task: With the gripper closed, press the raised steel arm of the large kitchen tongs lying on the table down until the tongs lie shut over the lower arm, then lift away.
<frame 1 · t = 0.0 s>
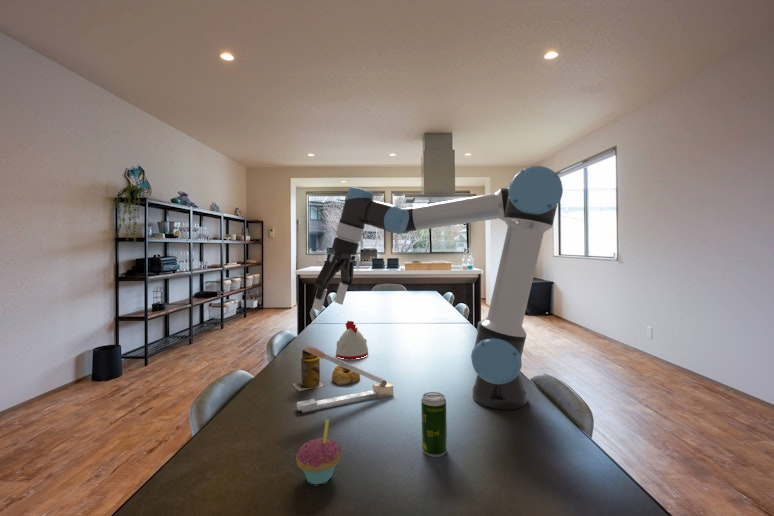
hand: (328, 306, 107), 28 cm above the table, tool tilted 20°, fingers open, 13 cm apart
cupcake: (319, 479, 68), on the table
kitchen timer: (352, 356, 153), on the table
bagel: (346, 381, 123), on the table
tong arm: (347, 366, 104), point 10 cm above the table, hinge at 30.0°
beer can: (434, 452, 77), on the table
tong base: (345, 401, 104), on the table
condiment: (308, 386, 118), on the table
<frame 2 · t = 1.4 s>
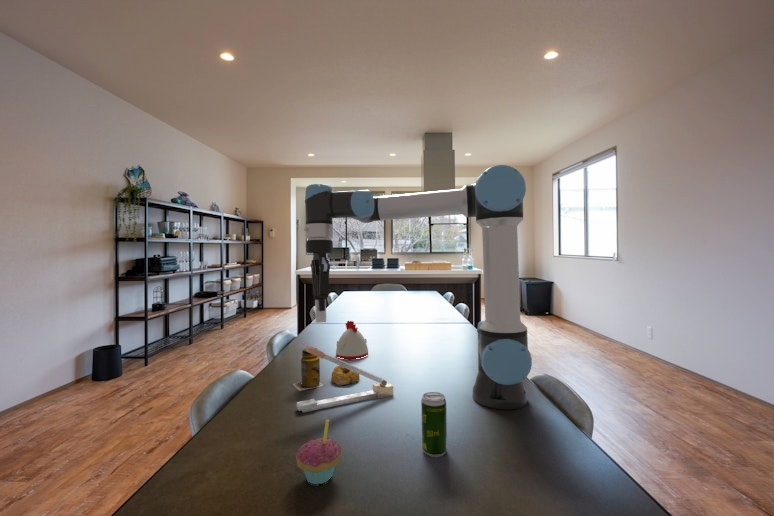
hand: (320, 321, 101), 24 cm above the table, tool pointing down, fingers closed
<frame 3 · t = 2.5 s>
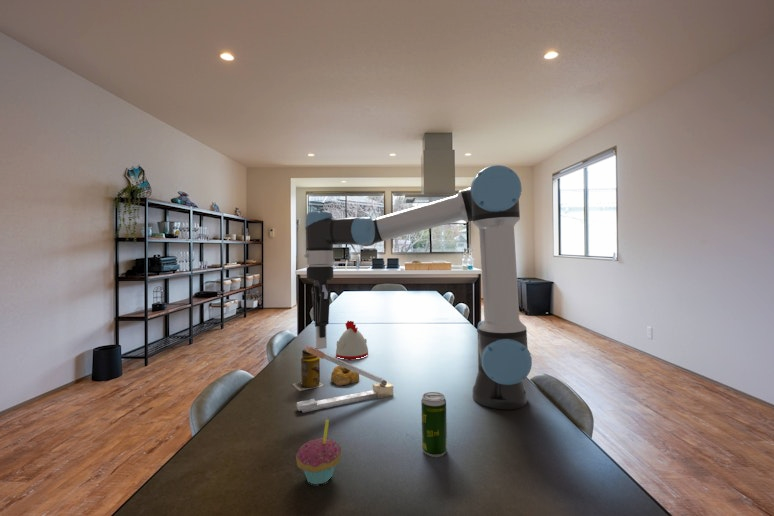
hand: (321, 348, 101), 17 cm above the table, tool pointing down, fingers closed
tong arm: (347, 366, 104), point 10 cm above the table, hinge at 29.9°, touching gripper
everything else where it was.
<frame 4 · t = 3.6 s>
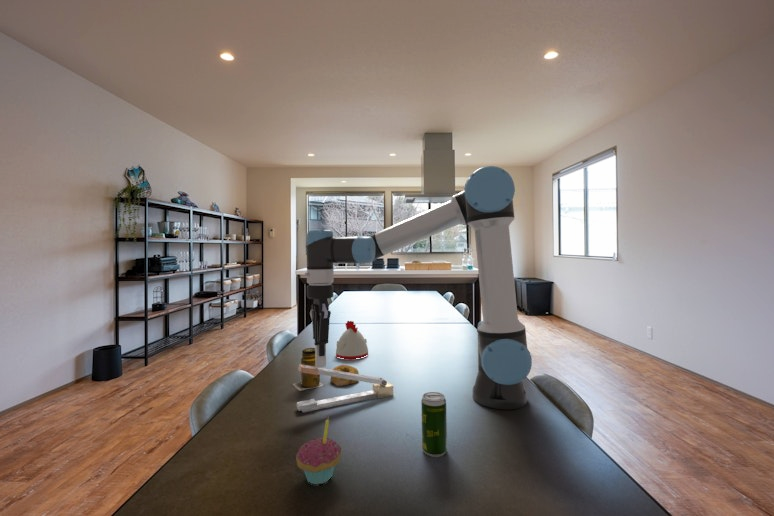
hand: (320, 366, 101), 12 cm above the table, tool pointing down, fingers closed
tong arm: (344, 375, 104), point 8 cm above the table, hinge at 17.7°, touching gripper
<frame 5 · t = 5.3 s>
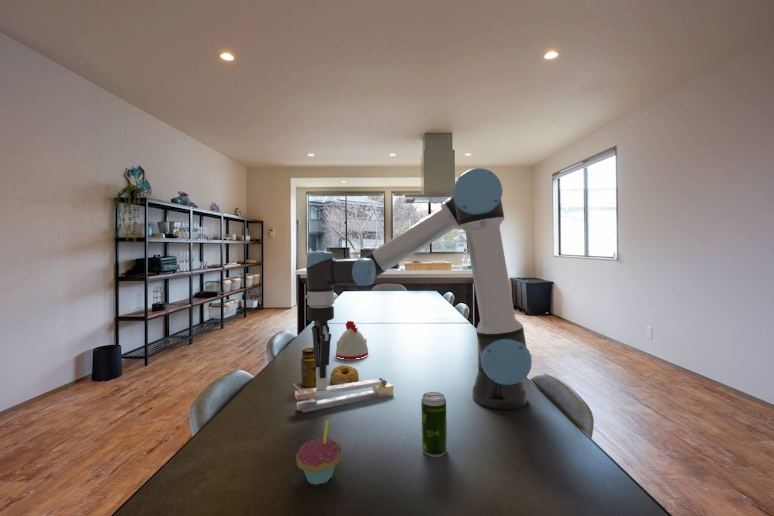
hand: (321, 387, 101), 5 cm above the table, tool pointing down, fingers closed
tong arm: (342, 388, 104), point 4 cm above the table, hinge at 1.4°, touching gripper
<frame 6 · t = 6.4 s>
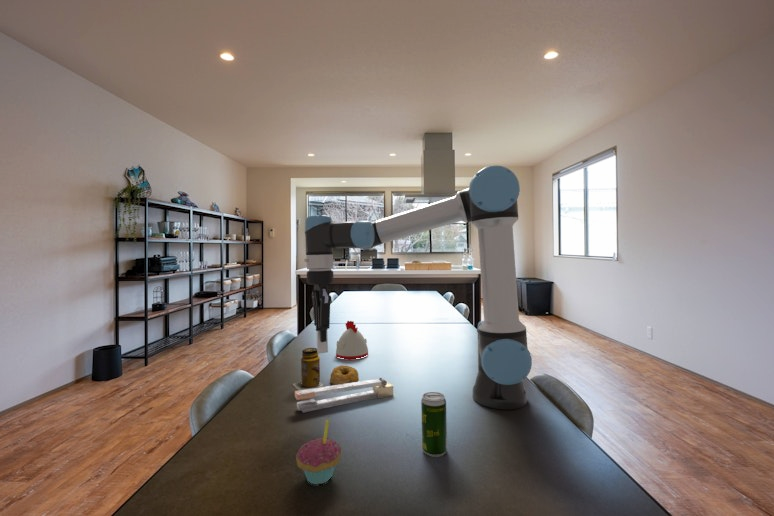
hand: (322, 352, 101), 16 cm above the table, tool pointing down, fingers closed
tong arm: (342, 388, 104), point 4 cm above the table, hinge at 1.4°
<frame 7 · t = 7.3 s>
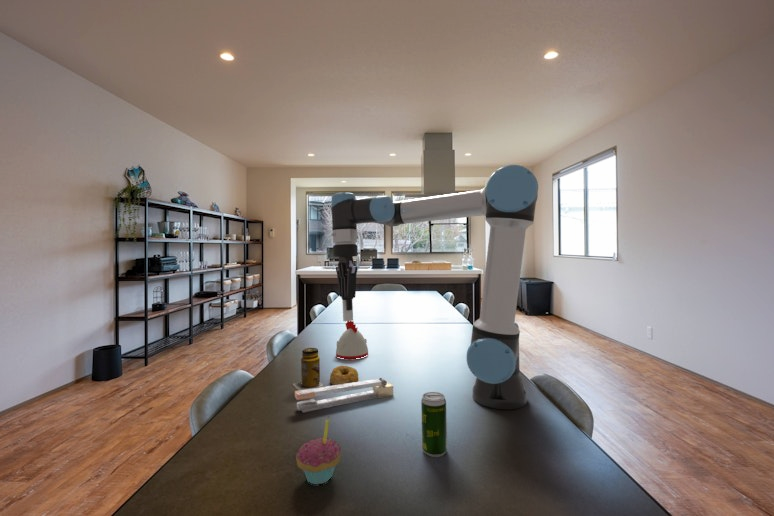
hand: (348, 320, 109), 23 cm above the table, tool pointing down, fingers closed
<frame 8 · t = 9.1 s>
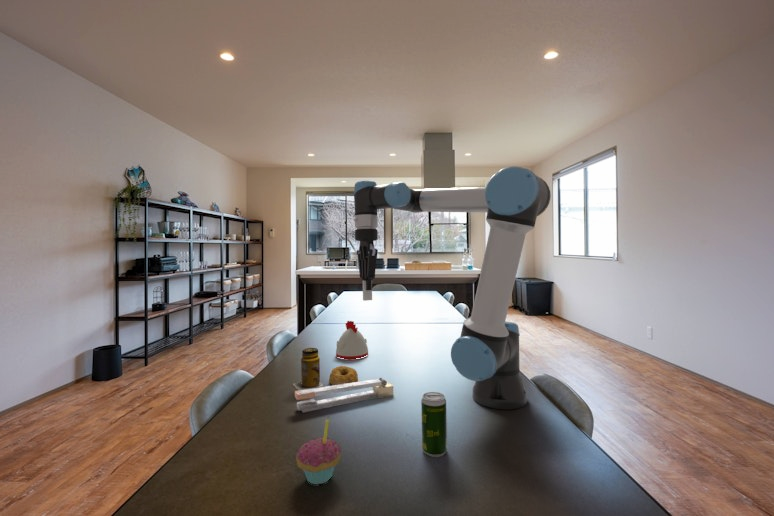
hand: (367, 299, 117), 28 cm above the table, tool pointing down, fingers closed
at the end: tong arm at +1° (first picture: +30°); condiment moved 0.3 cm from its start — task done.
